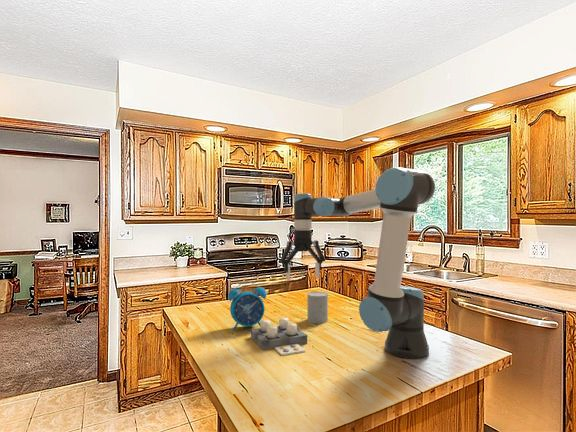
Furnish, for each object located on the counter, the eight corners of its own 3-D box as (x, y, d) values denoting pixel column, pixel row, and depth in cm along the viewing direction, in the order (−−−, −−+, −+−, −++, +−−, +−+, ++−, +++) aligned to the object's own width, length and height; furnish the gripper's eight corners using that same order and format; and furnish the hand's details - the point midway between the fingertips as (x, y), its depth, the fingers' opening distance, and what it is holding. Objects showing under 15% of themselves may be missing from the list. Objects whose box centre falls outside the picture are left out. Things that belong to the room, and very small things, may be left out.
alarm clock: (229, 333, 146) (229, 285, 146) (227, 325, 156) (227, 280, 156) (269, 330, 150) (268, 283, 150) (264, 322, 160) (264, 279, 160)
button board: (307, 343, 135) (307, 335, 135) (262, 350, 128) (262, 341, 128) (292, 331, 149) (292, 324, 149) (250, 336, 142) (250, 329, 142)
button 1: (271, 330, 139) (271, 322, 139) (262, 332, 138) (262, 323, 138) (268, 327, 143) (268, 319, 143) (259, 329, 142) (259, 320, 142)
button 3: (290, 328, 143) (290, 319, 142) (281, 329, 141) (281, 320, 141) (286, 325, 146) (286, 317, 146) (277, 326, 145) (277, 318, 145)
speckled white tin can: (327, 317, 168) (327, 291, 168) (328, 323, 159) (328, 296, 159) (307, 317, 169) (307, 291, 169) (306, 323, 160) (306, 296, 160)
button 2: (279, 337, 132) (279, 328, 132) (269, 338, 131) (268, 329, 131) (275, 334, 136) (275, 325, 136) (265, 335, 134) (265, 326, 134)
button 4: (298, 334, 135) (298, 325, 135) (288, 335, 134) (288, 326, 134) (294, 331, 139) (294, 322, 139) (285, 332, 137) (284, 323, 137)
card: (304, 351, 126) (304, 349, 126) (281, 355, 123) (281, 353, 123) (297, 345, 133) (297, 342, 133) (274, 348, 129) (274, 346, 129)
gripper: (325, 228, 159) (325, 275, 159) (272, 229, 150) (272, 279, 151) (332, 229, 152) (332, 278, 152) (278, 230, 143) (278, 282, 144)
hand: (303, 279), depth 151 cm, fingers open, 13 cm apart
